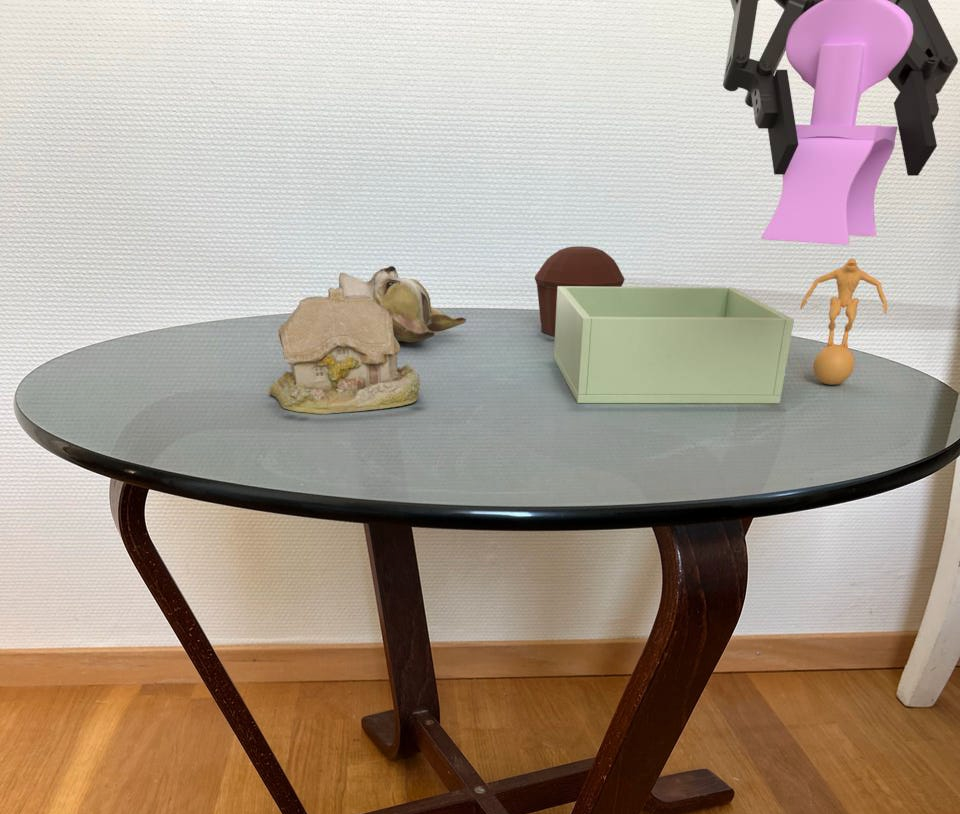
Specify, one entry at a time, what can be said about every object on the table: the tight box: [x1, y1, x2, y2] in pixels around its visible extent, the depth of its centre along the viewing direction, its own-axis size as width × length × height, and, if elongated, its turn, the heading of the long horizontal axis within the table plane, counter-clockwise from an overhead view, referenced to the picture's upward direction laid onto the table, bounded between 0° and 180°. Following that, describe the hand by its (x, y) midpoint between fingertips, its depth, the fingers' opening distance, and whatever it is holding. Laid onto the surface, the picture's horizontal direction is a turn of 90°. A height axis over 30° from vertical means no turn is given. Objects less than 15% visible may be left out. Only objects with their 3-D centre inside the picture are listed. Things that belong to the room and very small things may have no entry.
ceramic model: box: [268, 286, 421, 415], centre depth 87 cm, size 14×11×10 cm
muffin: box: [534, 245, 625, 337], centre depth 118 cm, size 12×11×10 cm
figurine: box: [800, 257, 888, 386], centre depth 95 cm, size 8×6×12 cm
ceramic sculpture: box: [338, 265, 467, 343], centre depth 112 cm, size 11×9×15 cm
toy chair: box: [760, 0, 913, 246], centre depth 67 cm, size 8×9×15 cm
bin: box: [553, 286, 795, 405], centre depth 96 cm, size 20×20×8 cm
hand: (854, 160), depth 65 cm, fingers closed on toy chair, 9 cm apart
